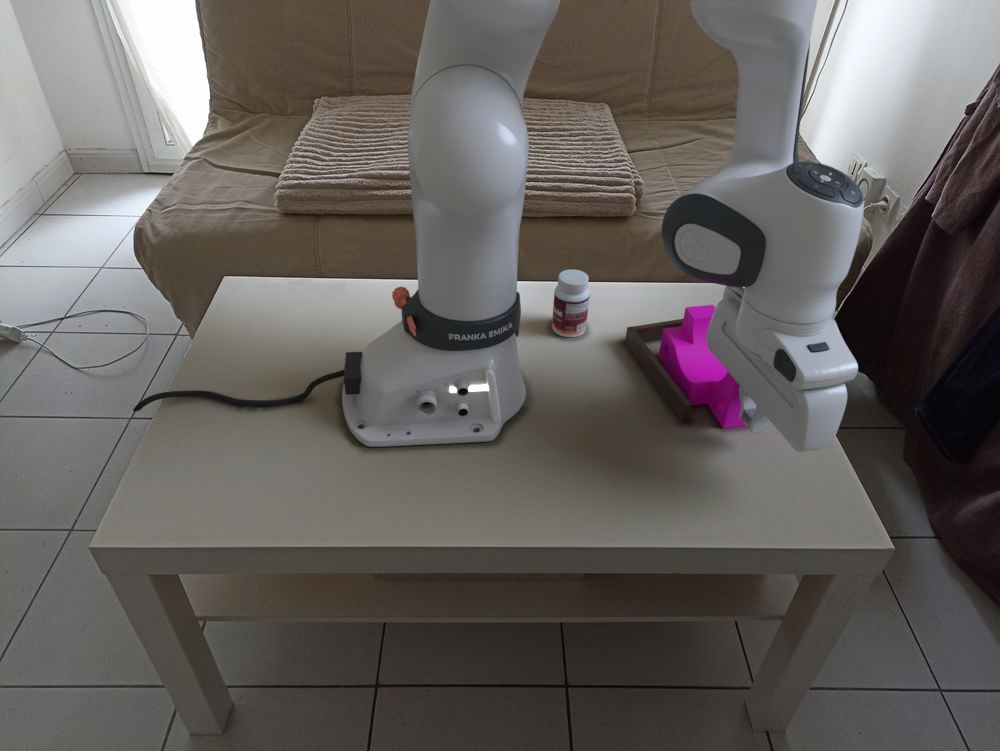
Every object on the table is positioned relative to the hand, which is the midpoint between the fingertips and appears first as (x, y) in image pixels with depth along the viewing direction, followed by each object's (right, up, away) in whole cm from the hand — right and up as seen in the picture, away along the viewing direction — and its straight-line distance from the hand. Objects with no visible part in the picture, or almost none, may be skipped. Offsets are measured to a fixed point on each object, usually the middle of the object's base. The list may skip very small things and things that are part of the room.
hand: (751, 425), depth 86 cm
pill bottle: (-19, +12, +19) cm, 30 cm away
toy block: (-3, +4, +9) cm, 10 cm away
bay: (-4, +6, +12) cm, 14 cm away
